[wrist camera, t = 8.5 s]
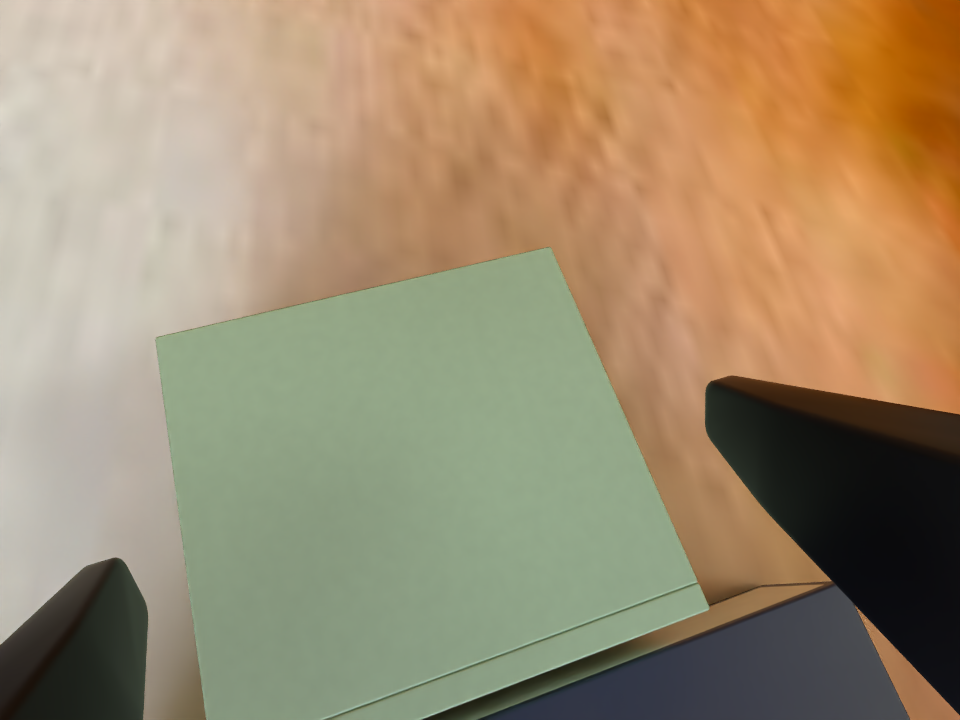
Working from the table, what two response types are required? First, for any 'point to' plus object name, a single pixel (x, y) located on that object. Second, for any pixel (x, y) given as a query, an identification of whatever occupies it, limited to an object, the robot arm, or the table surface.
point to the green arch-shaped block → (410, 497)
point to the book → (719, 668)
